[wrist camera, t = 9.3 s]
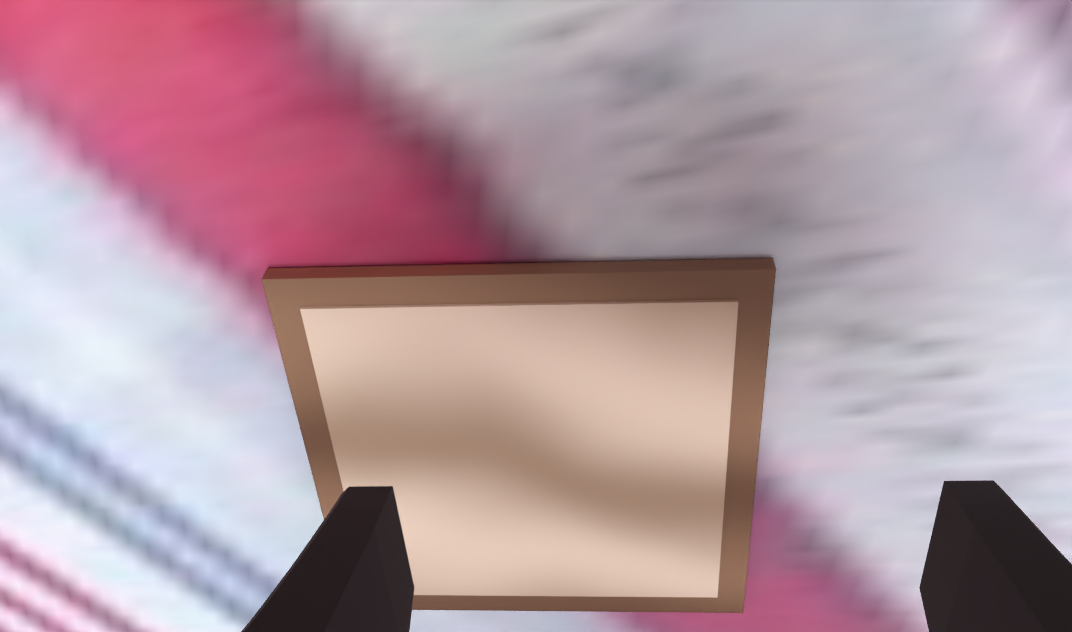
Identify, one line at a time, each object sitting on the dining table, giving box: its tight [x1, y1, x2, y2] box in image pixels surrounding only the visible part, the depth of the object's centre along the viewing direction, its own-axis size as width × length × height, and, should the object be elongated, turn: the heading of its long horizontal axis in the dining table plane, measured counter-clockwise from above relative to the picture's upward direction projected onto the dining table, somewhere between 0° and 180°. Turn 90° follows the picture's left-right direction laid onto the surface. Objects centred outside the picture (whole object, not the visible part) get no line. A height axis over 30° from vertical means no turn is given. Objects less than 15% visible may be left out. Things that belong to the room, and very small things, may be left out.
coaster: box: [262, 258, 776, 613], centre depth 26 cm, size 12×12×1 cm
